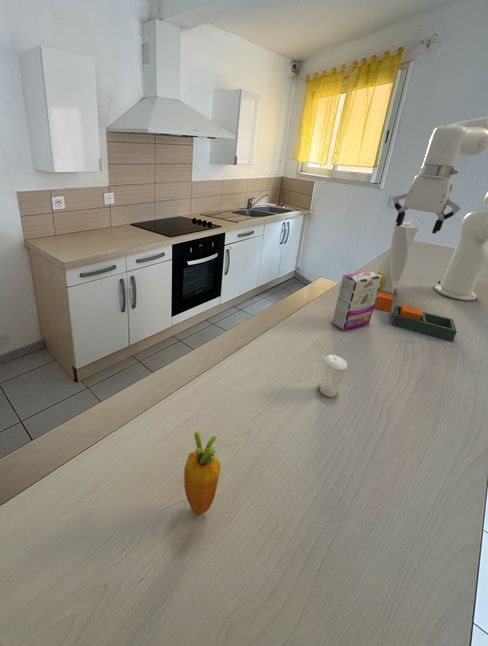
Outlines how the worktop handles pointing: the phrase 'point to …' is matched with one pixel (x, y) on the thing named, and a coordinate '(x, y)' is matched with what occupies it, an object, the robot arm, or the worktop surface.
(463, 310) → the worktop surface
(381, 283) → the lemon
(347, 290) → the candy bar box
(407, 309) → the seated pad
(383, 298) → the loose pad
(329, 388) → the milkshake
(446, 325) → the pad holder
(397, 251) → the skyscraper
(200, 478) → the carrot
